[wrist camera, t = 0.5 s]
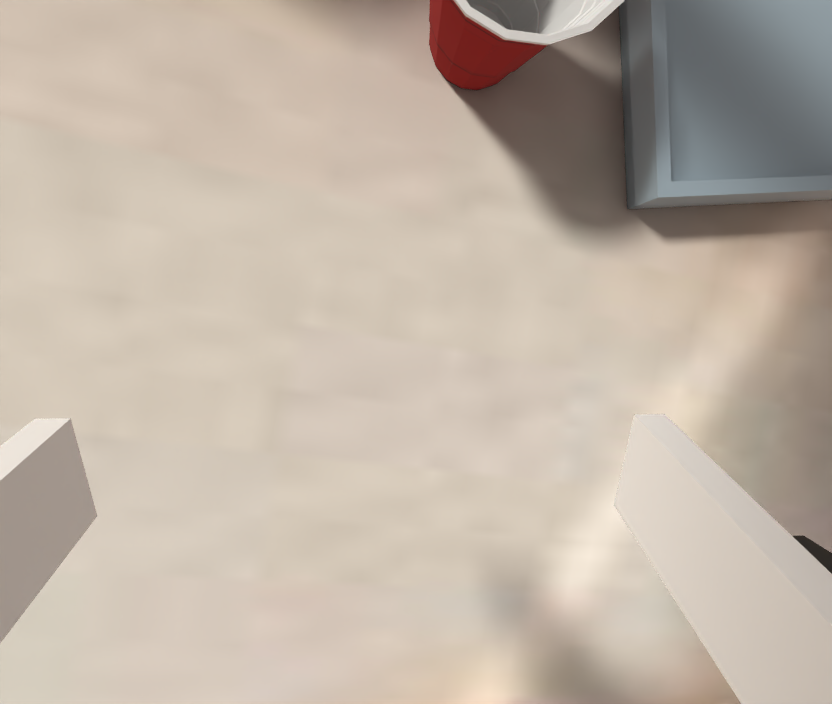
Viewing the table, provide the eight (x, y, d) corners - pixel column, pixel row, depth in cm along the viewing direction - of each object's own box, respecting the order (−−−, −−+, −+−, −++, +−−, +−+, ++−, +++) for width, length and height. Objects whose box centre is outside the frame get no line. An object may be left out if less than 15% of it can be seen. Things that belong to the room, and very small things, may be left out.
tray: (614, -115, 34) (645, -164, 31) (882, -99, 38) (938, -142, 34) (627, 209, 36) (658, 197, 33) (883, 197, 39) (935, 185, 36)
